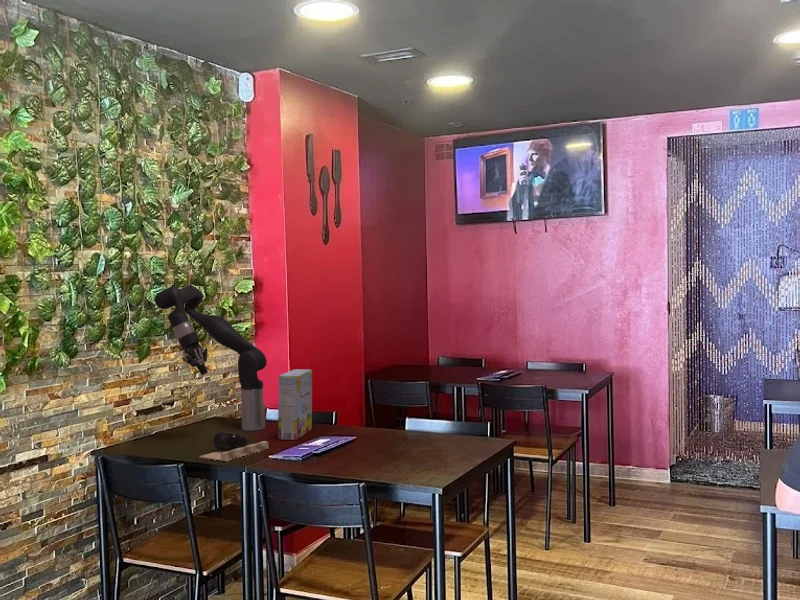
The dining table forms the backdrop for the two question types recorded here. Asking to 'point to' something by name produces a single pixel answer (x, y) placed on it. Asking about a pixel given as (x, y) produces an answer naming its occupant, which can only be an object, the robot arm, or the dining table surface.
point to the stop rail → (244, 451)
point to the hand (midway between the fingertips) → (204, 374)
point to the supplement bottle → (228, 441)
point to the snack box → (295, 404)
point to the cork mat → (213, 455)
